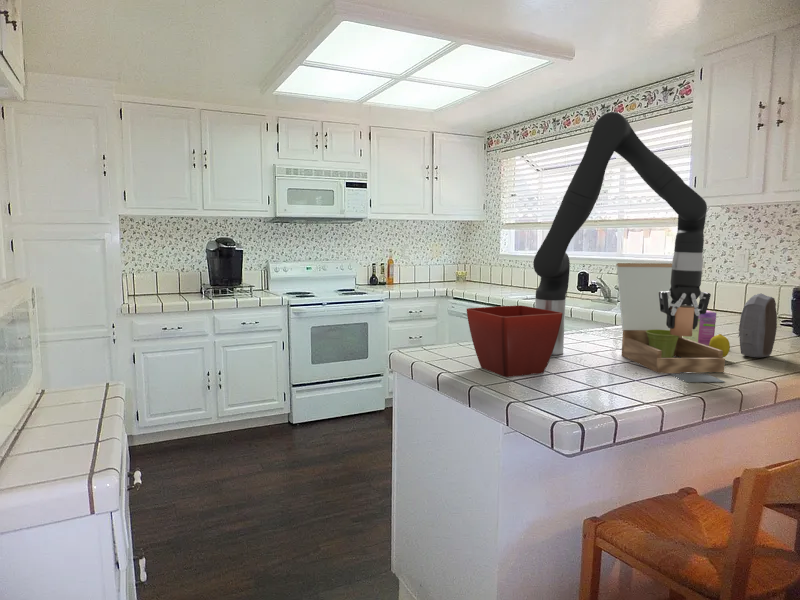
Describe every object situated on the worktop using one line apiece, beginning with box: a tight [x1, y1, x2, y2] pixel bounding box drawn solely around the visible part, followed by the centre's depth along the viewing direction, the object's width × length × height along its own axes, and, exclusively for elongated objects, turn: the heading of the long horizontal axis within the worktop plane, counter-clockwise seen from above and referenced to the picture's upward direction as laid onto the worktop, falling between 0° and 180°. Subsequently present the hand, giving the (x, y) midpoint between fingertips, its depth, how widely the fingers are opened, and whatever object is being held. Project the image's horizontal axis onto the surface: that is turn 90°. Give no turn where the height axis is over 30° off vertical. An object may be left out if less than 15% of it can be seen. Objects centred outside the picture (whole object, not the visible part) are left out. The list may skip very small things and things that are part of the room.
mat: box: [669, 373, 726, 383], centre depth 142 cm, size 10×8×1 cm
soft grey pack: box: [737, 293, 778, 358], centre depth 169 cm, size 15×8×20 cm, turn 129°
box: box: [682, 310, 717, 346], centre depth 191 cm, size 10×6×12 cm, turn 179°
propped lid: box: [615, 262, 676, 332], centre depth 174 cm, size 18×12×29 cm, turn 92°
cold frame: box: [621, 330, 726, 374], centre depth 158 cm, size 18×22×8 cm
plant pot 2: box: [646, 330, 679, 358], centre depth 163 cm, size 9×9×9 cm
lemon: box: [709, 333, 731, 358], centre depth 164 cm, size 6×6×8 cm
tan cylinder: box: [670, 304, 695, 337], centre depth 152 cm, size 6×6×8 cm
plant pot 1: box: [466, 305, 563, 378], centre depth 148 cm, size 19×19×17 cm
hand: (681, 328), depth 152 cm, fingers closed on tan cylinder, 5 cm apart
